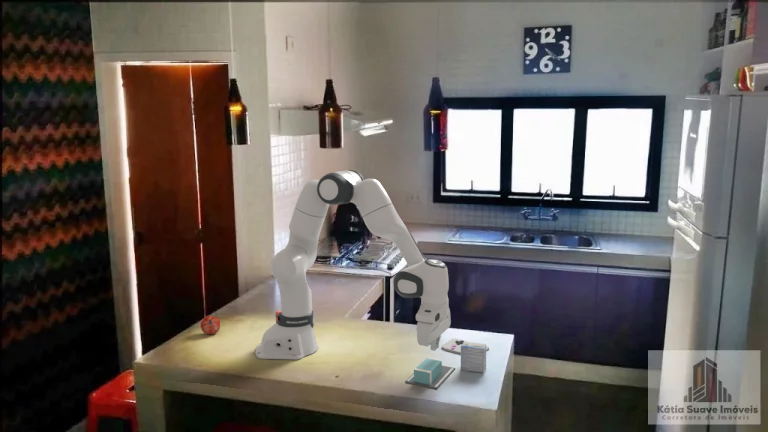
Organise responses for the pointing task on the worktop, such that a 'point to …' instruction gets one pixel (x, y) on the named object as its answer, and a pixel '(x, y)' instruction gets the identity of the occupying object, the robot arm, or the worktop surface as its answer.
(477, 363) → the medicine box
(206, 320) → the orange pumpkin
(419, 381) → the tea box
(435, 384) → the mat
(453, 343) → the handheld gaming console
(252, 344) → the worktop surface
